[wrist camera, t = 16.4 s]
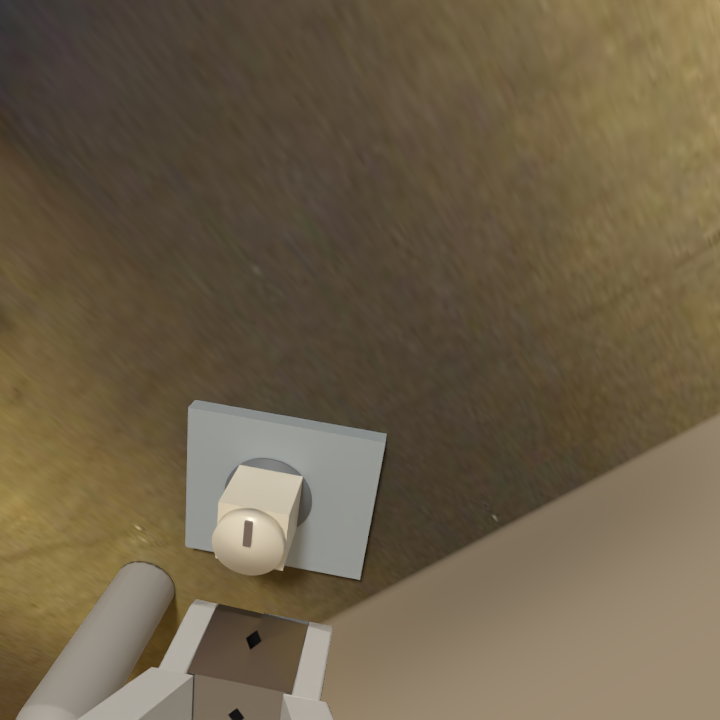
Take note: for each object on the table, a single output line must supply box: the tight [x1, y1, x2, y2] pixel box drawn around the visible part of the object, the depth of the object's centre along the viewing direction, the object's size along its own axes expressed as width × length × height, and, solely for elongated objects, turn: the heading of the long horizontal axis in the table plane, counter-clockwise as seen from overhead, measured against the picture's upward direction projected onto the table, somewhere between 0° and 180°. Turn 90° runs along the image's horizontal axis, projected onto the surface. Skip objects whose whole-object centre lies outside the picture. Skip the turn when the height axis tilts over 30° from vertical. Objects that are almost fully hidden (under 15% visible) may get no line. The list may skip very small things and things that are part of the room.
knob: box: [212, 465, 303, 575], centre depth 46 cm, size 6×6×7 cm
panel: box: [185, 400, 387, 580], centre depth 48 cm, size 18×16×7 cm
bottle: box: [16, 561, 175, 720], centre depth 45 cm, size 7×7×28 cm
